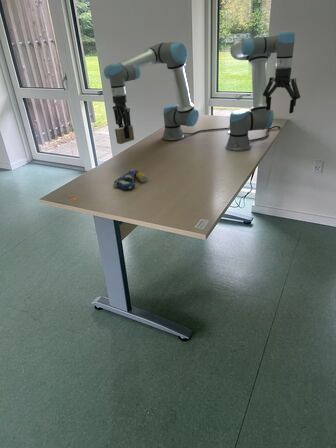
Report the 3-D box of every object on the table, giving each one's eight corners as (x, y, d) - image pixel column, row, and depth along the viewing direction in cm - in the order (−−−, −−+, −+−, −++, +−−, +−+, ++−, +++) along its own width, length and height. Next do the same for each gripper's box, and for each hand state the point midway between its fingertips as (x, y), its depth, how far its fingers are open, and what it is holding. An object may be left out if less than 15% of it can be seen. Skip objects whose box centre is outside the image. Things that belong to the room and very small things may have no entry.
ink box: (131, 139, 199) (128, 124, 195) (134, 140, 197) (132, 125, 192) (116, 143, 194) (114, 128, 189) (120, 144, 191) (118, 129, 187)
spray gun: (153, 176, 189) (130, 173, 195) (152, 169, 186) (129, 167, 193) (134, 192, 173) (110, 189, 180) (133, 185, 171) (109, 182, 177)
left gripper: (104, 95, 185) (111, 136, 197) (122, 97, 174) (128, 141, 186) (115, 92, 189) (122, 133, 202) (134, 95, 178) (139, 138, 190)
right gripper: (257, 67, 172) (255, 110, 183) (303, 69, 155) (297, 115, 166) (266, 65, 176) (263, 107, 187) (311, 67, 159) (305, 112, 170)
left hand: (125, 137), depth 194 cm, fingers closed on ink box, 4 cm apart
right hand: (279, 111), depth 176 cm, fingers open, 13 cm apart
